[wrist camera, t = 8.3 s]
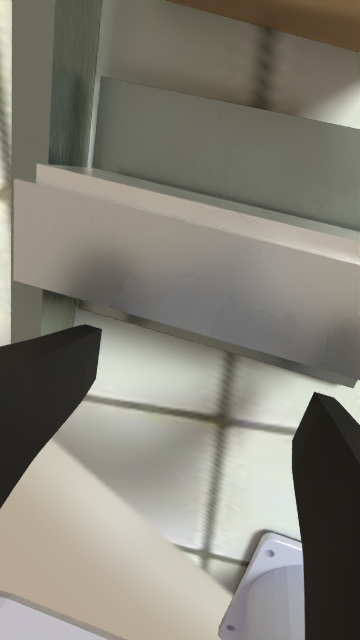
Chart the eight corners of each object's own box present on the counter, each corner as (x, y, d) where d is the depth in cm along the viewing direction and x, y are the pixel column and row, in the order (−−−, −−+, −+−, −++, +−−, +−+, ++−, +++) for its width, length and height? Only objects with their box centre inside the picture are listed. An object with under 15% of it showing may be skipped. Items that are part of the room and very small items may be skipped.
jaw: (381, 332, 11) (438, 403, 8) (84, 251, 13) (13, 280, 9) (425, 245, 10) (516, 282, 6) (92, 166, 11) (14, 159, 8)
